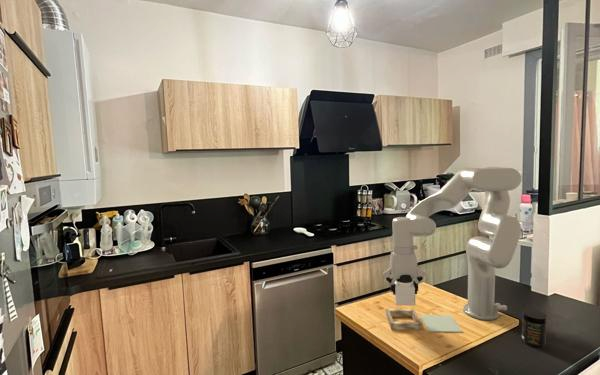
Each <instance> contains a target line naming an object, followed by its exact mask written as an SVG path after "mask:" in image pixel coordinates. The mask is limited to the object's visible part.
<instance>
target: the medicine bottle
mask: <svg viewBox="0 0 600 375" xmlns="http://www.w3.org/2000/svg"><path fill="white" fill-rule="evenodd" d="M394 284H395V295H394V294H393V295H394V296H393V297H394V301H395V302H394V303H395V305H396V306H413V307H414V306H416V294H415V287H414V284H413V279H412V278H411V276H410V275H401V276H400V278H399V279H396V281H395V283H394Z"/></svg>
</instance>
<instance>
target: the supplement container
mask: <svg viewBox="0 0 600 375" xmlns="http://www.w3.org/2000/svg"><path fill="white" fill-rule="evenodd" d="M521 316H522V317H521V318H522V319H521V320H522V322H521V323H522V327H521V340H522V342H523V343H524V345H525V344H526V345H527V346H529V347H531V348H535V349H536V348H537V349H538V348H539V349H541V348H544V347H545V346H546V340H547V339H546V338H547V320H548V316H547V315H546V314H545V313H544V312H541V311H539V310H534V309H524V310H522V315H521Z"/></svg>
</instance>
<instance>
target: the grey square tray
mask: <svg viewBox="0 0 600 375" xmlns="http://www.w3.org/2000/svg"><path fill="white" fill-rule="evenodd" d="M385 317H386V320H387V323H388V325H389V328H390V330H393V331H394V330H395V331H398V330H400V331H422V330H423V323H422V322H421V319H420V317H419V315H418V314H417V313H416V310H415V309H414V308H386V309H385ZM393 317H412V320H413V321H394V319H393Z"/></svg>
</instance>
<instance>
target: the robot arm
mask: <svg viewBox="0 0 600 375" xmlns="http://www.w3.org/2000/svg"><path fill="white" fill-rule="evenodd" d="M521 183H522V175H521V173H520V172H519V170H517V169H515V168H512V167H498V166H487V167H484V168H482V167H481V168H480V167H464V168H462V169H459V170H458V171H457V172H455V174H454V175H453V176H452V177H451V178H450V179H449V180H448V181H447V182H446V183H445V184H444V185H443V186H442V187H441V188H440V189H439V190H438V191H437V192H435V193H433V194H431V195H430V196H428V197H426V198H425V199H422V200H421V201H419V202H418V203H417V204H416V205H415V206H414V207H412V208H411V210H410V211H409V212H408V213H406V216H398V217H394V218H393V219H392V221H391V222H392V223H391V224H392V227H391V228H392V229H391V230H392V251H391V252H390V255H389V256H390V257H389V268H387V269H386V270H384V271H383V272H382V277H383V278H384V279H385V280H386V281H387V282H388V283H389V284H390V291H391V293H392V295H395V284H394V283H395V281H396V279H399V278H400V276H401V275H410V276H411V278H412V282H413V284H414V287H415V295H418V292H419V284H420V283H421V281H423V279H424V277H425V276H426V275H427V272H426V271H424V270H423V269H421V268H420V267H418V259H417V254H416V252H415V251H416V250H418V246H417V245H414V237H429V236H432V235H434V233H435V232H436V229H437V225H436V223H435V221H434V220H433V219H432V218H430V217H431V216H432V215H433V214H436V213H438V212H441V211H446V210H451V209H454V208H456V207H457V206H458V205H459V204H460V203H461V202H462V201H463V199H465V198H466V197H467V196H468V195H469V194H470V193H471V192H472V191H475V192H477V191H478V192H484V193H485V194H484V195H485V200H484V204H483V207H482V209H481V213H480V215H479V220H478V223H477V228H478V230H479V232H481V233H482V234H484V235H486V236H490V237H493V239H490V238H487V237H484V236H474V237H473V236H472V237H471V238H469V239H468V240H467V243H466V245H465V252H466V259H467V264H468V265H467V266H468V268H467V269H468V270H467V303H466V304H465V305H463V307H462V308H463V309H462V310H463V313H465V314H466V315H468V316H469V317H471V318H474V319H478V320H480V321H481V320H482V321H483V320H484V321H494V320H497V319H498V318H499V311H507V310H508V306H507V305H505V304H501V303H499V302H496V303H495V293H496V292H495V289H496V288H495V287H496V286H495V285H496V283H495V282H496V270H495V269H500V270H501V269H505V268H506V267H508V266H509V265H510V263H511V262H512V260H513V258H514V255H515V251H516V249H517V246H518V243H519V239H520V238H521V234H522V226H521V224H520V221H519V220H518V219H517V218H516V217H514V216H512V215H508V212H509V209H510V205H511V198H510V193H509V192H510V191H514V190H515V189H517V188H519V186H520V185H521ZM508 191H509V192H508ZM419 273H420V274H419ZM388 275H391V276H390V277H389V276H388Z"/></svg>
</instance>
